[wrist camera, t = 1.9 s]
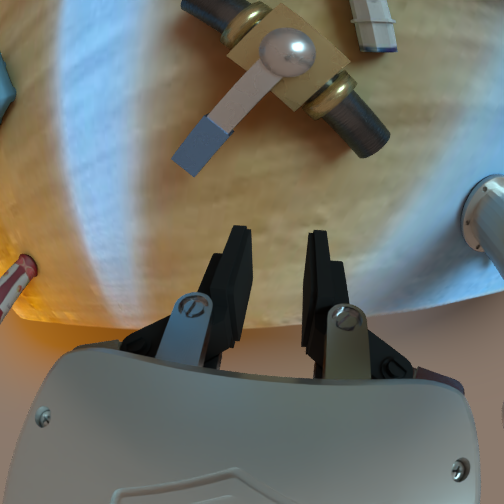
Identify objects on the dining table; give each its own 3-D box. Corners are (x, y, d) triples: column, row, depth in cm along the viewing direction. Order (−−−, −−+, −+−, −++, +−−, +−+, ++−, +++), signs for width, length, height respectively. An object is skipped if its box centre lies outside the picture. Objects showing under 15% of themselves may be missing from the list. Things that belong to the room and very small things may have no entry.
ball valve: (388, 119, 25) (414, 135, 19) (345, 155, 29) (359, 180, 23) (226, -19, 18) (204, -43, 12) (186, 22, 21) (154, 11, 15)
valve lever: (324, 55, 16) (327, 53, 15) (207, 174, 24) (200, 182, 23) (286, 22, 15) (285, 17, 14) (173, 147, 23) (164, 154, 21)
